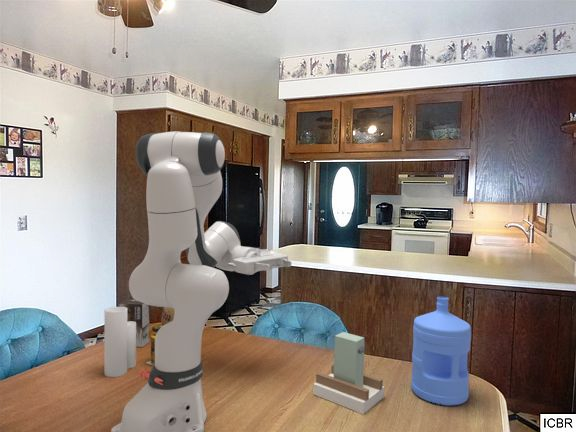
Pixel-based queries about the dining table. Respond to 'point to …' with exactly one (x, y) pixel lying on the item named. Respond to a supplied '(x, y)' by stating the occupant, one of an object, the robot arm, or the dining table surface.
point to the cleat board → (349, 391)
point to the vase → (118, 342)
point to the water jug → (441, 356)
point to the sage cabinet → (349, 358)
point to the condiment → (153, 343)
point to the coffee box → (138, 319)
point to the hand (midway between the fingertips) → (280, 265)
